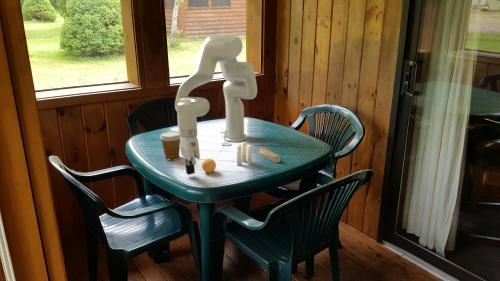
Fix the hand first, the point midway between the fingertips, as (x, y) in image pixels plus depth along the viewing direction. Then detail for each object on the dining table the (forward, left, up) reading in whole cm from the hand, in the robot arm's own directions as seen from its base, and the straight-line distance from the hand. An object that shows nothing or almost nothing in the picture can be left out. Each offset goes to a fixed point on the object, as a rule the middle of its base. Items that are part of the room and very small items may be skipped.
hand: (190, 173), depth 170 cm
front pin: (+12, +20, -2) cm, 24 cm away
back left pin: (+12, +25, -1) cm, 28 cm away
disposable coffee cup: (-21, +13, -2) cm, 25 cm away
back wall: (+20, +34, -1) cm, 40 cm away
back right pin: (+16, +23, -2) cm, 28 cm away
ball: (+4, +7, +1) cm, 9 cm away
